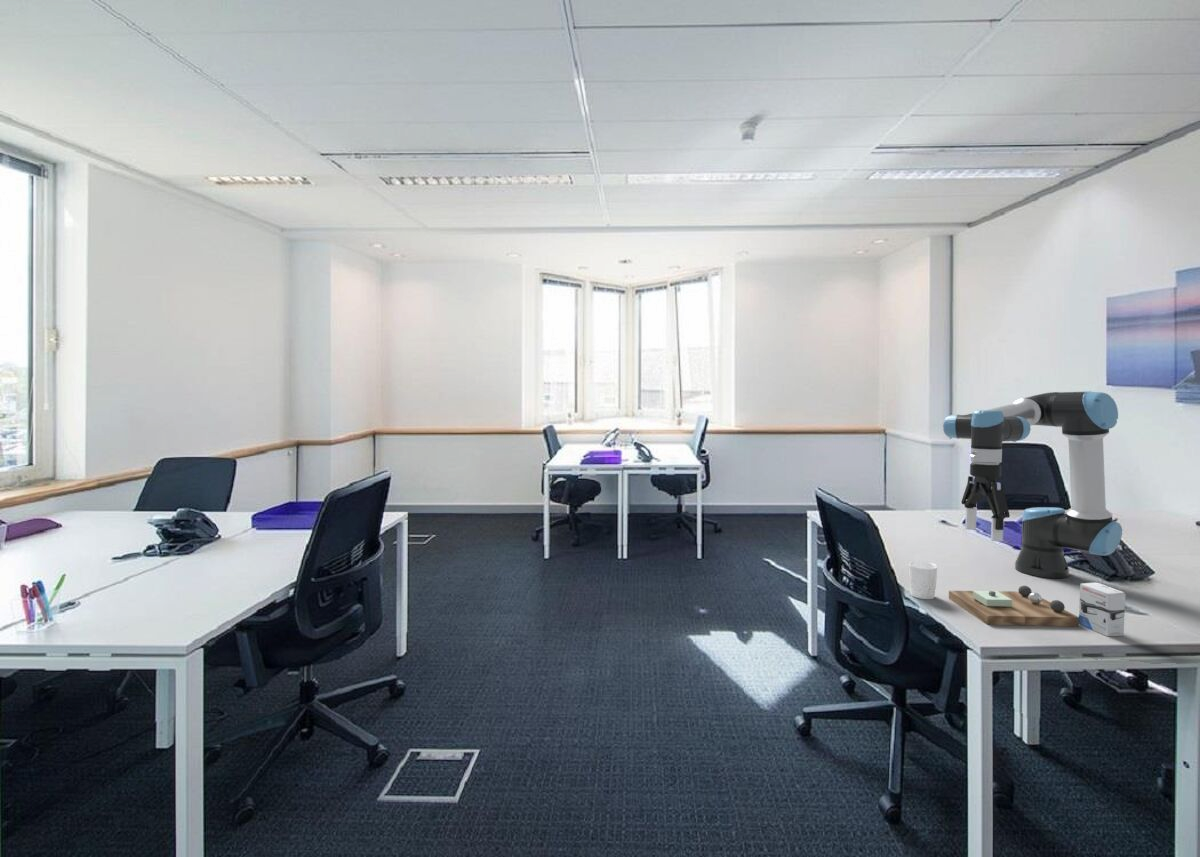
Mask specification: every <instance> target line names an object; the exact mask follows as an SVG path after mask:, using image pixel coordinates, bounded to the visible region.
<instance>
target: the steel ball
mask: <svg viewBox="0 0 1200 857" xmlns="http://www.w3.org/2000/svg"><path fill="white" fill-rule="evenodd" d="M1042 598H1043V597H1042V595H1041V594H1039V593H1038V592H1032V593H1030V594H1029V596H1028V599H1029V601H1030V602H1032V603H1034V604H1039V603H1041V601H1042Z"/></svg>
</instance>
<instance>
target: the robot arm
mask: <svg viewBox="0 0 1200 857" xmlns="http://www.w3.org/2000/svg"><path fill="white" fill-rule="evenodd" d="M1118 409H1119V408H1118V406H1117V403H1116V401H1115V399H1114V398H1113V397H1112V396H1111V395H1110V394H1108V393H1107V392H1102V391H1101V392H1100V391H1091V390H1090V391H1061V392H1060V391H1051V392H1045V393H1040V394H1035V395H1031V396H1028V397H1023V398H1019V399H1017V400H1015V401H1014V402H1012V403H1011V404H1006V405H1003V406H1002V405H1001V406H999V407H994V408H990V409H989V408H988V409H985V410H984V409H981V410H978V409H977V410H974V411H973V412H972V413H967V414H950V415H948V416H946V417H945V419H944V421H943V423H942V429H943V432H944V435H945V436H946V437H949V438H951V439H952V438H953V439H957V440H959V439H962V440H963V439H964V440H970V442H971V443H970V451H969V455H970V461H971V463H970V464H969V475H970V476H969V475H968V477H967V484H966V487H965V491H964V493H963V495H962V499H961V505H964V507H965V523H964V524H965V526H964V527H965V528H964V529H965V530H974V531H975V530H977V514H978V513H977V511H978V509H977V508H978V506H977V504H978V502H979V501H980V499H981V498H982V496H983V497H984V498H985V499H986V501H987V504H988V505H989V508H990V510H991V512H992V516H991V522H990V523H991V526H990V527H991V528H990V529H991V530H990V541H992V542H1003V541H1004V524H1005V523H1004V522H1005V521H1004V520H1005V519H1007V518H1010V511H1009V507H1008V506H1009V505H1008V503H1007V499H1006V495H1005V489H1004V487H1005V486H1004V485H1005V484H1004V483H1003V482H997V480H996V479H997V478H1001V476H1002V465H1001V464H1000V463H1002V462H1003V460H1002V459H1003V442H1006V443H1007V442H1013V443H1015V442H1018V441H1023V440H1025V439H1026V438H1027V437H1028V436H1029V435H1030V432H1031V426H1043V427H1045V426H1046V427H1057V428H1058V427H1059V428H1061V433H1062V435H1063V436H1064V437H1066V438H1067V439H1068V441H1067V442H1068V461H1069V464H1068V465H1069V483H1070V484H1069V485H1070V504H1071V507H1070V508H1068V509H1067V510H1065V509H1064V508H1061V507H1050V506H1049V507H1048V506H1047V507H1045V506H1043V507H1042V506H1040V507H1039V506H1038V507H1030V508H1025V509H1024V510H1023V512H1022V517H1021V518H1022V519H1021V522H1022V524H1021V525H1022V526H1021V528H1022V529H1021V549H1020V550H1019V554H1018V555H1017V558H1016V560H1015V561H1014V569H1015V570H1017V571H1018V572H1020V573H1023V574H1026V575H1029V576H1035V577H1040V578H1049V579H1064V578H1065V579H1066V578H1068V577H1069V576H1070V568H1069V566H1068V563H1067V559H1066V557H1065V555H1064V549H1067V550H1068V549H1069V550H1073V551H1074V550H1075V551H1078V552H1083V553H1087V554H1090V555H1097V556H1109V555H1111V554H1112V553H1114V552H1115V551H1116V550H1117V548H1118V547H1119V546H1120V542H1121V540H1122V536H1123V528H1122V524H1121V523H1120V522H1117V521H1113V513H1112V512H1111V511H1109V510H1108V509H1107V507H1106V506H1107V505H1106V486H1105V484H1106V481H1105V480H1106V479H1105V477H1106V476H1105V458H1104V456H1105V455H1104V452H1105V451H1104V438H1105V437H1106V436H1107V435H1109V434H1110V429H1113V428H1114V427H1115V426H1116V425H1117V422H1118V419H1119V410H1118Z"/></svg>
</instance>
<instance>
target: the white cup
mask: <svg viewBox="0 0 1200 857" xmlns="http://www.w3.org/2000/svg"><path fill="white" fill-rule="evenodd" d="M937 578H938V566H937V564H934V563H931V562H925V561H910V562H908V579H909V591H910V592H909V593H910V595H911V596H912V597H913V598H916V599H920V600H934V599H935V597H936V589H937V588H936V587H937Z"/></svg>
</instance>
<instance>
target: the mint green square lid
mask: <svg viewBox="0 0 1200 857" xmlns="http://www.w3.org/2000/svg"><path fill="white" fill-rule="evenodd" d="M972 591H973V598H974V599H976V600H978V601H979V602H981V603H982V604H984V605H986V606H1008V607H1012V599H1010V598H1008V597H1007V596H1005V595H1003V594H1001V593H999V592H998V591H999V590H972Z"/></svg>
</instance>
